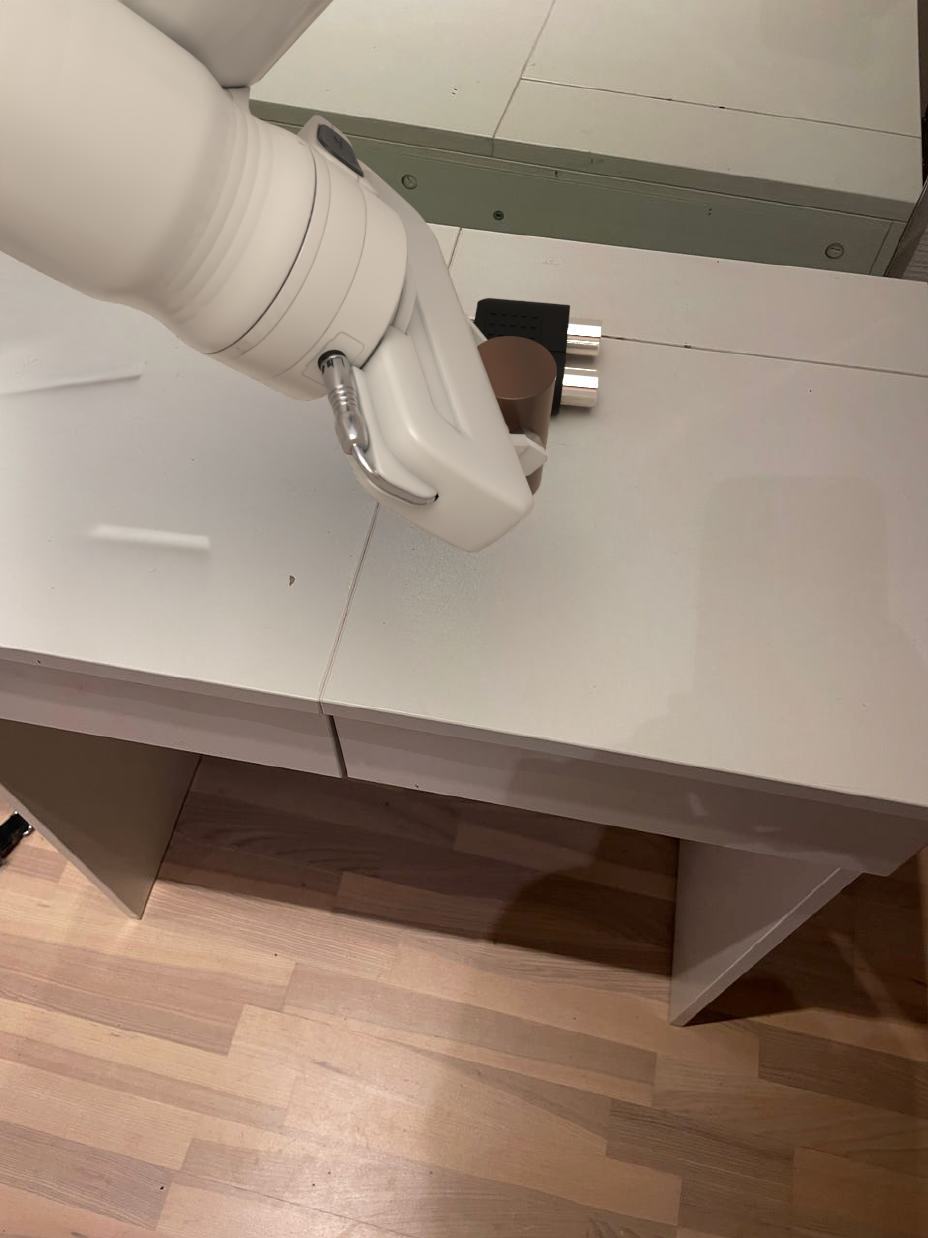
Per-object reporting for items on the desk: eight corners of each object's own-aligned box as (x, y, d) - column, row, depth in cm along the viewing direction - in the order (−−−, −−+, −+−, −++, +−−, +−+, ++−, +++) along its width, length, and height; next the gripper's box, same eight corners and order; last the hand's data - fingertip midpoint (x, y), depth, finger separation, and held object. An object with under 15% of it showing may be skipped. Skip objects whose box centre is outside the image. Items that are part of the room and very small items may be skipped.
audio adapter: (600, 382, 70) (294, 354, 71) (591, 430, 74) (303, 402, 76) (605, 293, 75) (321, 269, 77) (597, 342, 80) (329, 318, 81)
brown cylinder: (471, 512, 48) (476, 404, 41) (456, 452, 50) (457, 341, 43) (549, 500, 48) (566, 392, 41) (530, 442, 50) (544, 330, 44)
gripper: (410, 416, 29) (634, 539, 39) (314, 92, 39) (510, 254, 49) (296, 524, 32) (529, 612, 42) (234, 198, 42) (433, 330, 52)
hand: (518, 416), depth 45 cm, fingers closed on brown cylinder, 4 cm apart
